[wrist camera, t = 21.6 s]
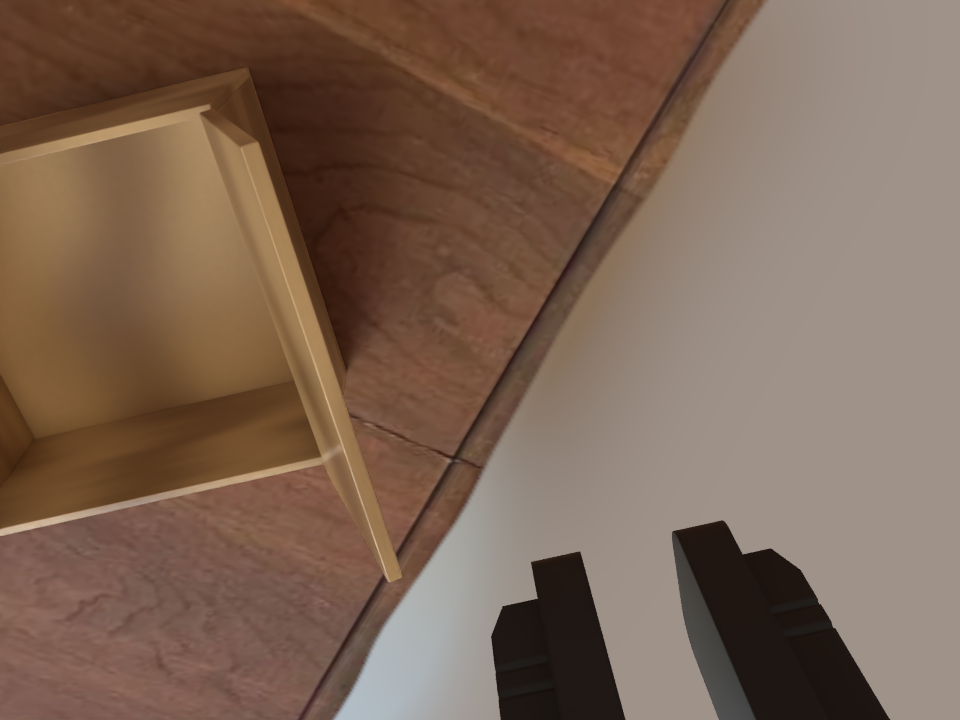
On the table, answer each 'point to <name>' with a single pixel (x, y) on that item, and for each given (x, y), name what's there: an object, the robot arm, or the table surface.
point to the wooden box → (138, 311)
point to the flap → (298, 327)
